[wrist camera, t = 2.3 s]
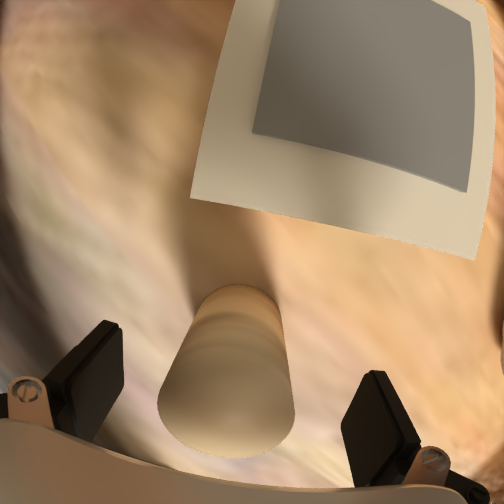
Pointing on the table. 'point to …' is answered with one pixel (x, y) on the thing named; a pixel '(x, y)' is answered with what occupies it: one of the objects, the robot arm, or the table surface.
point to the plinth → (356, 117)
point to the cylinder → (230, 377)
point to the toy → (502, 352)
